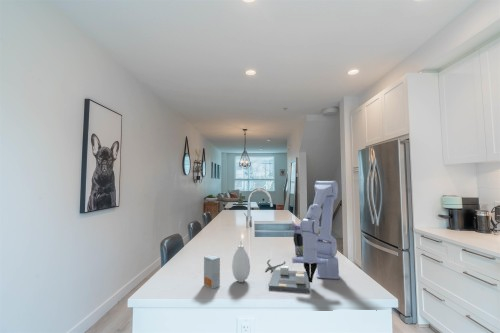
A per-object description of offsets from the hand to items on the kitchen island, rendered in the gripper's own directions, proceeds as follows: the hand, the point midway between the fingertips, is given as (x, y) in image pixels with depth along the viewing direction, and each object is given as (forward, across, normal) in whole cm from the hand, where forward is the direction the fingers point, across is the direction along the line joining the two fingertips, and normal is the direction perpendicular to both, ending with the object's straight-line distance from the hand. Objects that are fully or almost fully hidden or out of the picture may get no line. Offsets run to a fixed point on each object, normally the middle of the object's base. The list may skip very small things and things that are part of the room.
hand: (310, 281), depth 106 cm
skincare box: (+3, -41, -6) cm, 41 cm away
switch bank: (+2, -9, +5) cm, 10 cm away
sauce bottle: (+3, -30, +1) cm, 30 cm away
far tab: (+1, -11, +9) cm, 14 cm away
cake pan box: (+3, +1, +46) cm, 46 cm away
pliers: (+3, -16, +24) cm, 29 cm away
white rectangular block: (+1, -4, 0) cm, 4 cm away
